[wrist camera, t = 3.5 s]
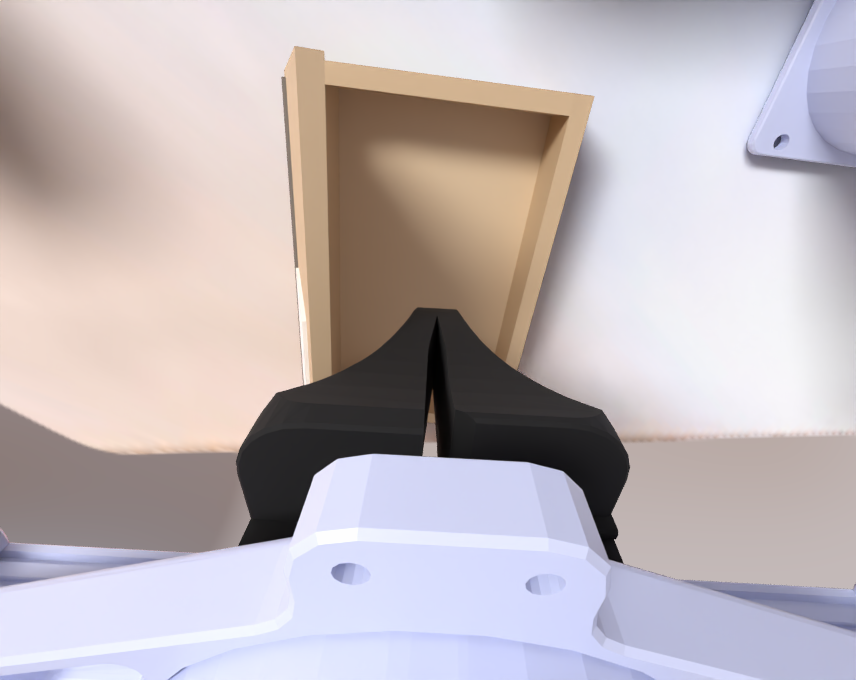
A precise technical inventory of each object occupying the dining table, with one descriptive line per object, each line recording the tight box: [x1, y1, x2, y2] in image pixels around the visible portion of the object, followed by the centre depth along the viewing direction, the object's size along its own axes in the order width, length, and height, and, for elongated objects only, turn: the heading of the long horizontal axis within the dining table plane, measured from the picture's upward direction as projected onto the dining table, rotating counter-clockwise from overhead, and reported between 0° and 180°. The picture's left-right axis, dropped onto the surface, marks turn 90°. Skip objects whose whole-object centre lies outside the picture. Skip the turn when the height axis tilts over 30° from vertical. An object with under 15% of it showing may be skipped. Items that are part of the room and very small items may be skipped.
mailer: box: [324, 60, 594, 423], centre depth 16 cm, size 9×14×3 cm, turn 174°
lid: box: [281, 46, 332, 385], centre depth 12 cm, size 8×13×1 cm
